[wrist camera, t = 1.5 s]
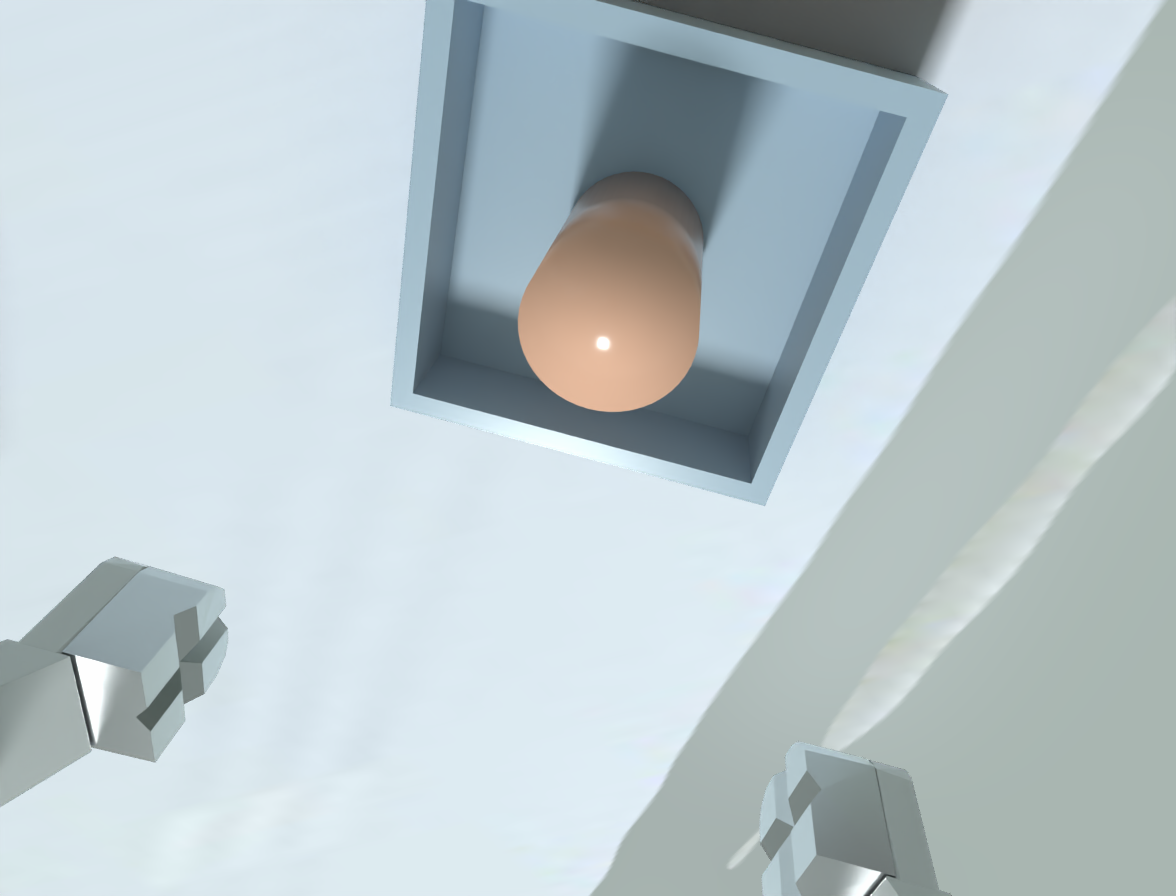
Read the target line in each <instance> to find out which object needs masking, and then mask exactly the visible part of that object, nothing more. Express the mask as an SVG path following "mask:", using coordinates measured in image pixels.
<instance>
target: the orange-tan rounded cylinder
mask: <svg viewBox="0 0 1176 896" xmlns="http://www.w3.org/2000/svg"><path fill="white" fill-rule="evenodd" d="M703 249H704V234H703V228H702V223H701V220H700V217H699V215H698V212H697V210H696V208H695V206H694V205H693V203H692V202H691V200H690V199H689V198H688V197H687V195H686V194H685V193H684V192H683V191H682V190H681V189H680V188H678V187H677V186H676V185H674V184H673V183H672V182H670V181H668V180H666V179H664V178H662V177H660V176H657V175H654V174H650V173H645V172H634V171H632V172H622V173H618V174H614V175H611V176H608V177H606V178H604V179H602V180H600V181H598V182H597V183H595V184H594V185H592V186H591V187H590V188H589V189H588V190H587V191H586V192H585V193H583V195H582V196H581V197H580V198H579V200H578V201H577V203H576V204H575V206H574V208H573V209H572V211H571V213H570V215H569V216H568V218H567V220H566V221H565V223H564V225H563V226H562V228H561V230H560V231H559V233H558V235H557V237H556V238H555V240H554V242H553V243H552V245H551V247H550V248H549V250H548V252H547V253H546V255H545V257H544V259H543V260H542V262H541V264H540V265H539V267H538V269H537V270H536V272H535V274H534V275H533V277H532V279H531V281H530V282H529V284H528V286H527V287H526V289H525V292H524V294H523V297H522V300H521V303H520V307H519V314H518V332H519V339H520V343H521V346H522V350H523V353H524V355H525V357H526V359H527V361H528V363H529V365H530V366H531V368H532V370H533V371H534V373H535V374H536V375H537V376H538V378H539V379H540V380H541V381H542V382H543V383H544V384H545V385H546V386H547V387H548V388H549V389H551V390H552V391H553V392H554V393H556V394H557V395H559V396H560V397H562V398H564V399H565V400H567V401H569V402H571V403H573V404H576V405H578V406H581V407H584V408H587V409H592V410H597V411H605V412H622V411H629V410H634V409H638V408H641V407H644V406H647V405H649V404H652V403H654V402H656V401H657V400H659V399H661V398H663V397H664V396H665V395H667V394H668V393H669V392H671V391H672V390H673V389H674V388H675V387H676V386H677V385H678V384H679V383H680V382H681V380H682V379H683V378H684V377H685V375H686V374H687V372H688V370H689V369H690V367H691V365H692V363H693V360H694V358H695V355H696V351H697V347H698V341H699V329H700V309H701V289H702V269H703Z"/></svg>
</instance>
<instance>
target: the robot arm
mask: <svg viewBox="0 0 1176 896" xmlns="http://www.w3.org/2000/svg"><path fill="white" fill-rule="evenodd" d="M225 607H226V599H225V591H224V589H223V588H220V587H218V586H214V585H211V584H208V583H204V582H201V581H198V580H194V579H191V578H188V577H184V576H181V575H177V574H174V573H171V572H167V571H164V570H161V569H157V568H154V567H151V566H146V565H143V564H139V563H136V562H132V561H129V560H125V559H122V558H118V557H113V558H111V559H109V560H106V561H104V562H102V563H101V564H100V565H98V566H97V567H96V568H95V569H94V570H93V571H92V572H91V573H90V574H89V575H88V576H87V577H86V578H85V579H84V580H83V581H82V582H81V583H80V584H79V585H77V586H76V587H75V588H74V589H73V590H72V591H71V592H70V593H69V594H68V595H67V596H66V597H65V598H64V599H63V600H62V601H61V602H60V603H59V604H58V605H56V606H55V607H54V608H53V609H52V610H51V611H50V612H49V613H48V614H47V615H46V616H45V617H44V618H43V619H42V620H41V621H40V622H39V623H38V624H37V625H35V626H34V627H33V628H32V629H31V630H30V631H29V632H28V633H27V634H26V635H25V636H24V637H23V638H22V639H21V640H20V641H19V642H17V641H13V640H9V639H6V640H4V641H1V642H0V807H1V806H3V805H5V804H6V803H8V802H10V801H11V800H13V799H15V798H16V797H18V796H19V795H21V794H23V793H24V792H26V791H28V790H29V789H31V788H32V787H34V786H36V785H37V784H39V783H41V782H42V781H44V780H46V779H47V778H49V777H50V776H52V775H54V774H55V773H57V772H59V771H60V770H62V769H64V768H65V767H67V766H68V765H70V764H72V763H73V762H75V761H77V760H78V759H80V758H82V757H83V756H85V755H86V754H88V753H90V752H91V751H92V749H91V747H93V748H97V749H101V750H105V751H109V752H113V753H118V754H122V755H126V756H130V757H134V758H138V759H143V760H147V761H151V762H156V761H157V759H158V758H159V757H160V755H161V754H162V752H163V751H164V750H165V748H166V747H167V745H168V744H169V743H170V741H171V740H172V739H173V737H174V736H175V734H176V733H177V732H178V730H179V729H180V727H181V726H182V725H183V723H184V722H185V712H184V704H185V703H187V702H189V701H191V700H193V699H195V698H197V697H199V696H201V695H203V694H205V692H206V691H207V689H208V688H209V686H210V685H211V683H212V682H213V681H214V679H215V678H216V676H217V674H218V671H219V669H220V667H221V665H222V662H223V660H224V658H225V655H226V649H227V644H228V628H227V627H226V626H225V624H224V623H223V622H222V621H221V619H220V618H219V617H218V616H219V615H220V614H221V612H222V611H223V610H224V608H225ZM785 762H786V770H785V771H783V772H780V773H778V774H775V775H774V776H773V777H772V779H771V781H770V783H769V785H768V787H767V788H766V791H765V795H764V799H763V802H762V807H761V814H760V844H761V845H762V847H763V849H764V850H765V852H766V854H767V855H768V857H769V859H770V860H771V862H770V864H769V866H768V867H767V869H766V870H765V872H764V873H763V875H762V891H763V896H952V895H951V894H950V893H947V892H944V891H941V890H939V888H938V883H937V879H936V875H935V871H934V867H933V864H932V859H931V855H930V851H929V847H928V843H927V839H926V835H925V831H924V827H923V823H922V819H921V814H920V810H919V807H918V803H917V798H916V794H915V790H914V786H913V782H912V778H911V776H910V775H909V774H908V772H907V771H906V770H905V769H901V768H897V767H894V766H890V765H886V764H882V763H879V762H875V761H871V760H867V759H865V758H862V757H858V756H855V755H851V754H847V753H843V752H839V751H835V750H831V749H827V748H823V747H819V746H815V745H811V744H807V743H803V742H799V741H798V742H796V743H795V744H793V745H792V746H791V747H790V749H789V750H788V752H787V754H786V755H785Z"/></svg>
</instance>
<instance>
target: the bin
mask: <svg viewBox="0 0 1176 896" xmlns="http://www.w3.org/2000/svg"><path fill="white" fill-rule="evenodd" d="M947 96H948V94H947V93H945V92H943V91H941V90H939V89H938V88H936V87H934V86H932V85H931V84H929V83H927V82H925V81H924V80H922V79H920V78H918V77H917V76H913V75H909V74H906V73H902V72H898V71H894V70H891V69H887V68H883V67H879V66H876V65H872V64H868V63H864V62H861V61H857V60H853V59H849V58H846V57H842V56H838V55H834V54H831V53H827V52H823V51H819V50H816V49H812V48H808V47H804V46H801V45H797V44H793V43H789V42H786V41H782V40H778V39H774V38H771V37H767V36H763V35H759V34H756V33H752V32H748V31H744V30H741V29H737V28H733V27H729V26H726V25H722V24H718V23H714V22H711V21H707V20H703V19H699V18H696V17H692V16H688V15H684V14H681V13H677V12H673V11H669V10H666V9H662V8H658V7H654V6H651V5H647V4H643V3H639V2H636V1H632V0H426V8H425V19H424V30H423V42H422V53H421V64H420V76H419V87H418V98H417V110H416V121H415V132H414V143H413V155H412V166H411V177H410V189H409V200H408V211H407V223H406V234H405V245H404V256H403V268H402V279H401V290H400V302H399V313H398V324H397V336H396V347H395V358H394V369H393V381H392V392H391V403H390V406H393V407H396V408H400V409H404V410H408V411H411V412H415V413H419V414H423V415H426V416H430V417H434V418H438V419H441V420H445V421H449V422H453V423H456V424H460V425H464V426H467V427H471V428H475V429H479V430H482V431H486V432H490V433H494V434H497V435H501V436H505V437H509V438H512V439H516V440H520V441H524V442H527V443H531V444H535V445H539V446H542V447H546V448H550V449H554V450H557V451H561V452H565V453H569V454H572V455H576V456H580V457H584V458H587V459H591V460H595V461H599V462H602V463H606V464H610V465H614V466H617V467H621V468H625V469H628V470H632V471H636V472H640V473H643V474H647V475H651V476H655V477H658V478H662V479H666V480H670V481H673V482H677V483H681V484H685V485H688V486H692V487H696V488H700V489H703V490H707V491H711V492H715V493H718V494H722V495H726V496H730V497H733V498H737V499H741V500H745V501H748V502H752V503H756V504H760V505H763V506H765V504H766V502H767V500H768V498H769V495H770V493H771V491H772V489H773V486H774V484H775V482H776V480H777V477H778V475H779V473H780V471H781V468H782V466H783V464H784V462H785V459H786V457H787V455H788V453H789V451H790V448H791V446H792V444H793V442H794V439H795V437H796V435H797V433H798V430H799V428H800V426H801V424H802V421H803V419H804V417H805V415H806V412H807V410H808V408H809V406H810V403H811V401H812V399H813V397H814V394H815V392H816V390H817V388H818V385H819V383H820V381H821V379H822V376H823V374H824V372H825V370H826V368H827V365H828V363H829V361H830V359H831V356H832V354H833V352H834V350H835V347H836V345H837V343H838V341H839V338H840V336H841V334H842V332H843V329H844V327H845V325H846V323H847V320H848V318H849V316H850V314H851V311H852V309H853V307H854V305H855V302H856V300H857V298H858V296H859V294H860V291H861V289H862V287H863V285H864V282H865V280H866V278H867V276H868V273H869V271H870V269H871V267H872V264H873V262H874V260H875V258H876V255H877V253H878V251H879V249H880V246H881V244H882V242H883V240H884V237H885V235H886V233H887V231H888V228H889V226H890V224H891V222H892V220H893V217H894V215H895V213H896V211H897V208H898V206H899V204H900V202H901V199H902V197H903V195H904V193H905V190H906V188H907V186H908V184H909V181H910V179H911V177H912V175H913V172H914V170H915V168H916V166H917V163H918V161H919V159H920V157H921V154H922V152H923V150H924V148H925V146H926V143H927V141H928V139H929V137H930V134H931V132H932V130H933V128H934V125H935V123H936V121H937V119H938V116H939V114H940V112H941V110H942V107H943V105H944V103H945V101H946V98H947ZM632 171H634V172H645V173H650V174H654V175H657V176H660V177H662V178H664V179H666V180H668V181H670V182H672V183H673V184H674V185H676V186H677V187H678V188H680V189H681V190H682V191H683V192H684V193H685V194H686V195H687V197H688V198H689V199H690V200H691V202H692V203H693V205H694V206H695V208H696V210H697V212H698V215H699V217H700V220H701V223H702V228H703V234H704V249H703V269H702V289H701V309H700V329H699V341H698V347H697V351H696V355H695V358H694V360H693V363H692V365H691V367H690V369H689V370H688V372H687V374H686V375H685V377H684V378H683V379H682V380H681V382H680V383H679V384H678V385H677V386H676V387H675V388H674V389H673V390H672V391H671V392H669V393H668V394H667V395H665V396H664V397H663V398H661V399H659V400H657V401H656V402H654V403H652V404H649V405H647V406H644V407H641V408H638V409H634V410H629V411H622V412H605V411H597V410H592V409H587V408H584V407H581V406H578V405H576V404H573V403H571V402H569V401H567V400H565V399H564V398H562V397H560V396H559V395H557V394H556V393H554V392H553V391H552V390H551V389H549V388H548V387H547V386H546V385H545V384H544V383H543V382H542V381H541V380H540V379H539V378H538V376H537V375H536V374H535V373H534V371H533V370H532V368H531V366H530V365H529V363H528V361H527V359H526V357H525V355H524V353H523V350H522V346H521V343H520V339H519V332H518V314H519V307H520V303H521V300H522V297H523V294H524V292H525V289H526V287H527V286H528V284H529V282H530V281H531V279H532V277H533V275H534V274H535V272H536V270H537V269H538V267H539V265H540V264H541V262H542V260H543V259H544V257H545V255H546V253H547V252H548V250H549V248H550V247H551V245H552V243H553V242H554V240H555V238H556V237H557V235H558V233H559V231H560V230H561V228H562V226H563V225H564V223H565V221H566V220H567V218H568V216H569V215H570V213H571V211H572V209H573V208H574V206H575V204H576V203H577V201H578V200H579V198H580V197H581V196H582V195H583V193H585V192H586V191H587V190H588V189H589V188H590V187H591V186H592V185H594V184H595V183H597V182H598V181H600V180H602V179H604V178H606V177H608V176H611V175H614V174H618V173H622V172H632Z"/></svg>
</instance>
